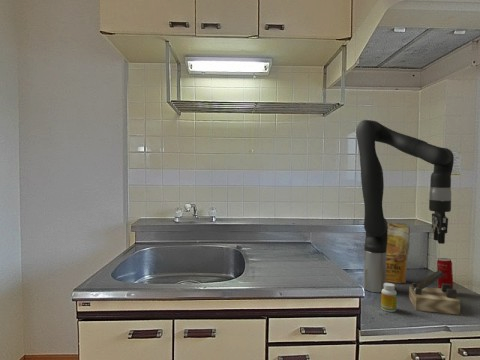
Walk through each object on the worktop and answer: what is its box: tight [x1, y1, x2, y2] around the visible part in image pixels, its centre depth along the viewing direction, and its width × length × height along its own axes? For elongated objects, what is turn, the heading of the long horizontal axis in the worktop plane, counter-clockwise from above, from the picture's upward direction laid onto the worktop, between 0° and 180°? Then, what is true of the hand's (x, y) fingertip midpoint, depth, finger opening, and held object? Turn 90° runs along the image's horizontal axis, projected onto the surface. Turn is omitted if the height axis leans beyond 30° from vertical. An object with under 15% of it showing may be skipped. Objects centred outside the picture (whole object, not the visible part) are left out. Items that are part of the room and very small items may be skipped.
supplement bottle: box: [380, 282, 398, 313], centre depth 140 cm, size 5×5×10 cm
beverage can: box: [436, 257, 454, 289], centre depth 158 cm, size 6×6×15 cm
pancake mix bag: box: [386, 221, 411, 285], centre depth 175 cm, size 7×19×28 cm, turn 67°
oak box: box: [408, 282, 461, 315], centre depth 144 cm, size 15×14×8 cm
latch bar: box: [413, 270, 444, 290], centre depth 144 cm, size 13×4×1 cm
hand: (438, 241), depth 143 cm, fingers open, 5 cm apart
